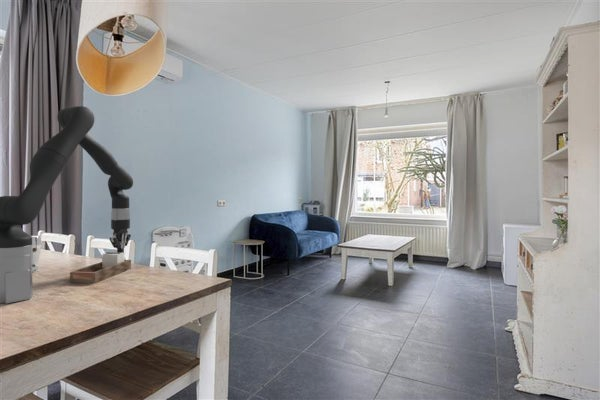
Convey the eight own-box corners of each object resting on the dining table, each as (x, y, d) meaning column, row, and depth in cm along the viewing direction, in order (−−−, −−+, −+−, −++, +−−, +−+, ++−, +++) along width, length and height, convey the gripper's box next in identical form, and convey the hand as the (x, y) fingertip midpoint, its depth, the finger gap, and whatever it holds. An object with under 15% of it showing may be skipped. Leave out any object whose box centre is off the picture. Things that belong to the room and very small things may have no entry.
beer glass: (16, 272, 141) (15, 237, 141) (33, 268, 148) (33, 235, 147) (27, 273, 139) (27, 237, 139) (45, 270, 146) (44, 235, 145)
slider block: (109, 265, 149) (109, 251, 148) (124, 266, 148) (124, 251, 148) (102, 268, 144) (102, 253, 143) (117, 268, 143) (117, 253, 143)
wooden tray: (109, 268, 151) (109, 259, 151) (130, 268, 151) (130, 259, 151) (70, 282, 127) (69, 272, 127) (95, 283, 127) (95, 272, 127)
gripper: (121, 217, 157) (121, 253, 158) (103, 219, 144) (103, 259, 145) (136, 217, 157) (136, 254, 157) (119, 219, 144) (119, 259, 144)
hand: (120, 256), depth 151 cm, fingers closed
